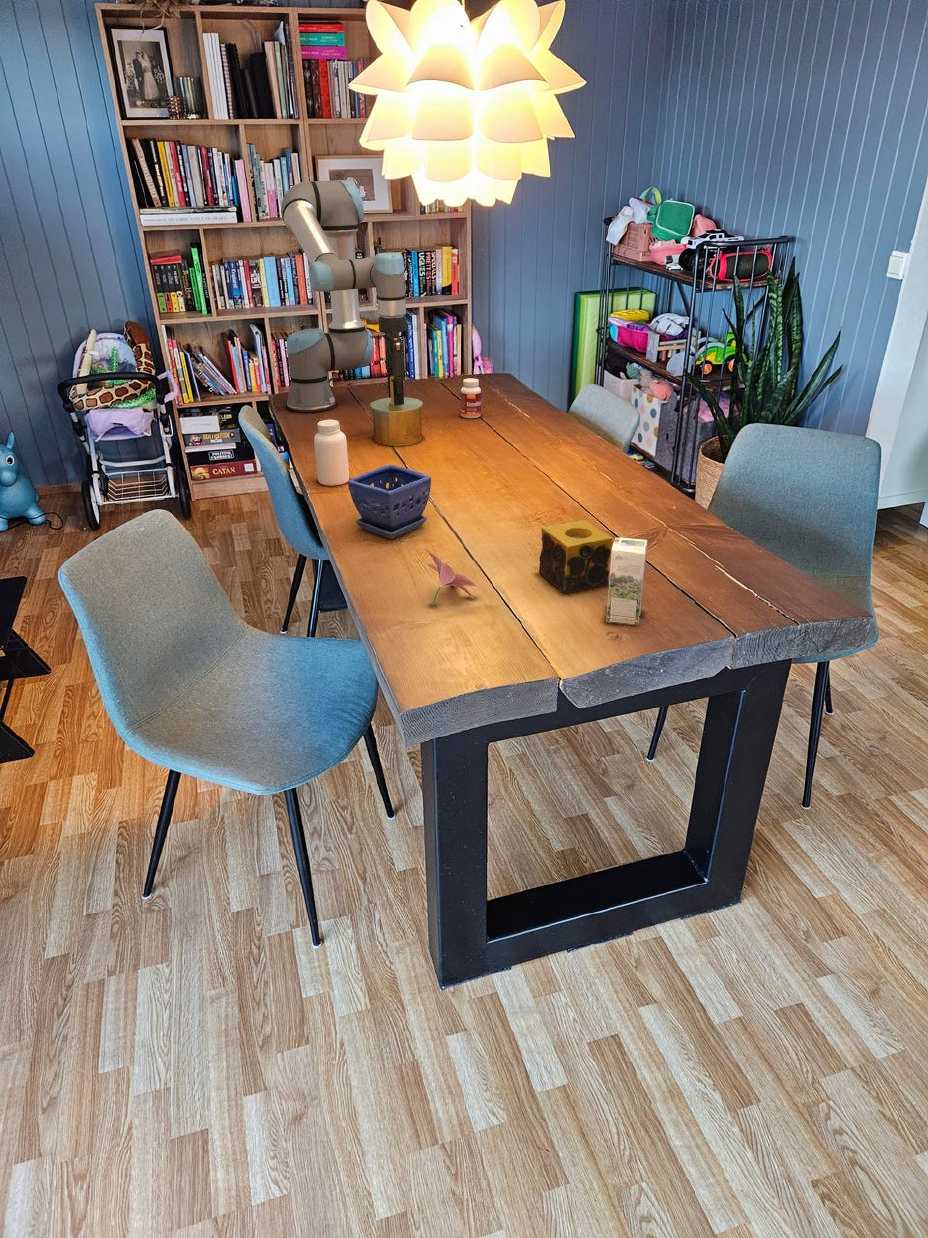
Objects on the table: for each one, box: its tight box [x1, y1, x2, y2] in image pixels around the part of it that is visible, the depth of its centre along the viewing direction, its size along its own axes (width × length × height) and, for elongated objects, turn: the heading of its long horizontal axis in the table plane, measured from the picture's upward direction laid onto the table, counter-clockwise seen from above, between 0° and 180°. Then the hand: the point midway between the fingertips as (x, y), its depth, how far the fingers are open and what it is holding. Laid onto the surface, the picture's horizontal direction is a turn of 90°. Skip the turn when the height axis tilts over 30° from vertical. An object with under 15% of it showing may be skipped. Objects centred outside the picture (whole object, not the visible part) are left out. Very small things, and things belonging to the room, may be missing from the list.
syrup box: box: [605, 536, 648, 627], centre depth 153 cm, size 6×6×14 cm
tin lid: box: [369, 376, 424, 413], centre depth 245 cm, size 15×15×9 cm
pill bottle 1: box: [313, 419, 350, 487], centre depth 218 cm, size 8×8×15 cm
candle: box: [538, 519, 613, 594], centre depth 168 cm, size 10×10×10 cm
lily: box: [424, 548, 478, 607], centre depth 162 cm, size 12×12×10 cm
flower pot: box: [347, 464, 432, 540], centre depth 191 cm, size 13×13×12 cm
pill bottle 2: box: [460, 377, 482, 419], centre depth 268 cm, size 6×6×11 cm
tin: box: [371, 407, 423, 447], centre depth 249 cm, size 14×14×10 cm
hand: (396, 400), depth 246 cm, fingers open, 7 cm apart
